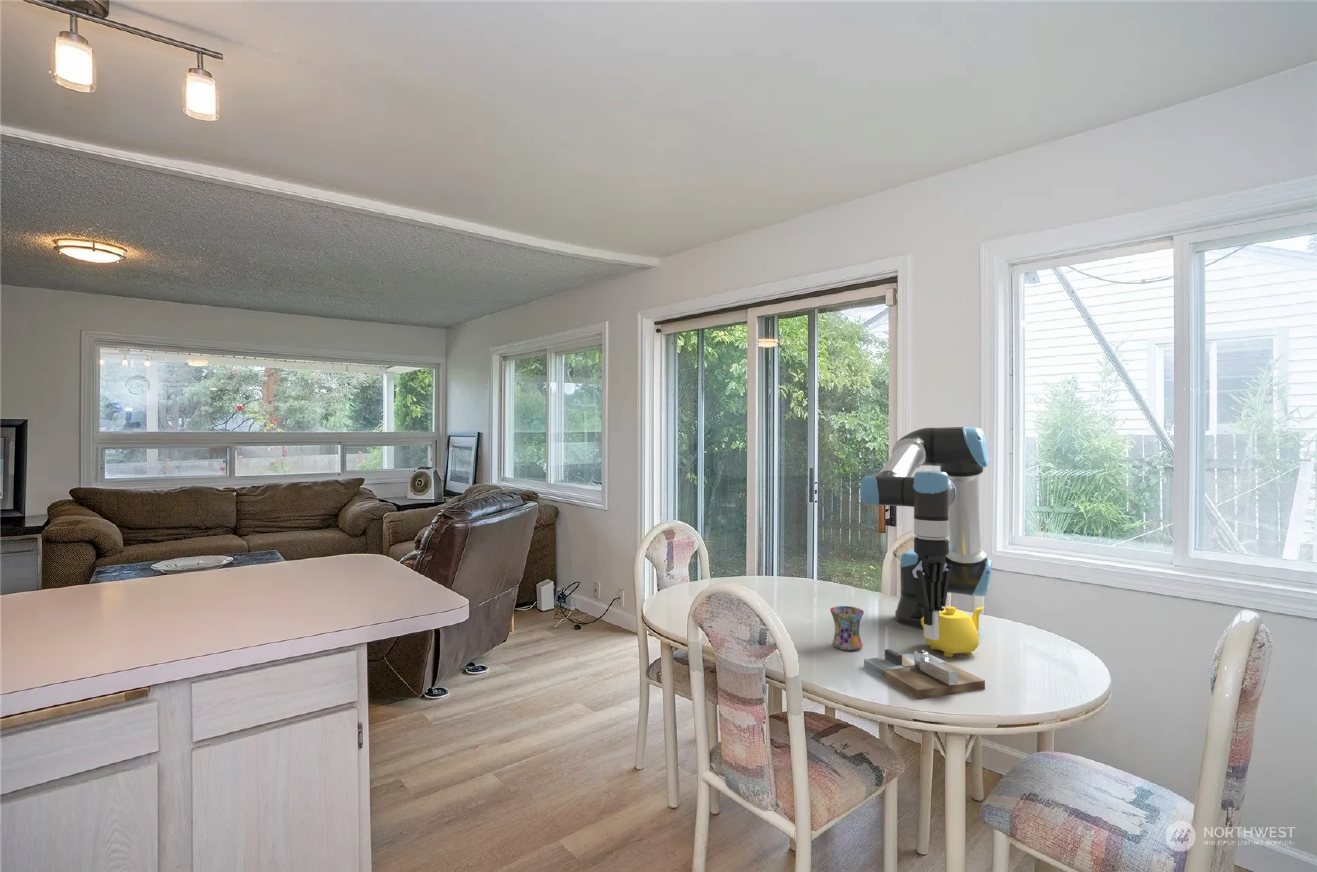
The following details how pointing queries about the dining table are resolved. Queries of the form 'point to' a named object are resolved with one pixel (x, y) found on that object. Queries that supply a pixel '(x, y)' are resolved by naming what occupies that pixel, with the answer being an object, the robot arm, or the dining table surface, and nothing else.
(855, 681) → the dining table surface
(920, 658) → the latch bar
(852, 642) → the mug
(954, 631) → the teapot
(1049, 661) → the dining table surface
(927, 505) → the robot arm
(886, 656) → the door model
